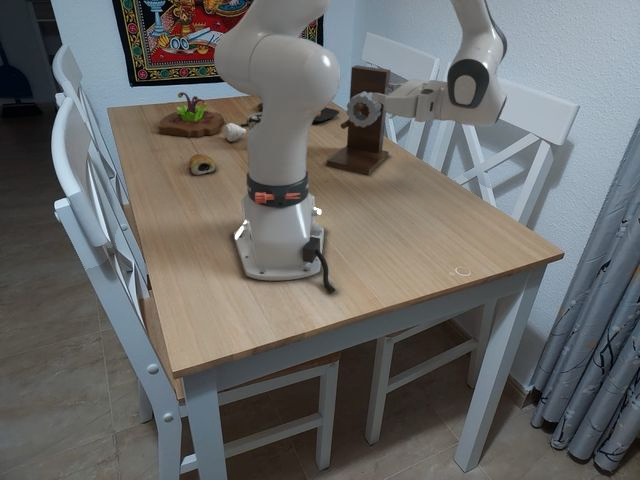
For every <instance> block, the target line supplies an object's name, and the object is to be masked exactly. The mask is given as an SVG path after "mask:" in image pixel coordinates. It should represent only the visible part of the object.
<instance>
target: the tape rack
mask: <svg viewBox="0 0 640 480" xmlns="http://www.w3.org/2000/svg"><path fill="white" fill-rule="evenodd" d="M390 78H391V69H387V68H379V67H371V66H365V65H359V64H358V65H354V66H352V67H351V71H350V87H349V88H350V90H349V100H350V99H351V98H352V97H354V96H356V95H357V94H360V93H362V92H364V91H365V92H367V93H370V92H371V93H375V92H379V93H381V94H384V95H386V94H387V95H389V92H386V91H385V88H386V85H387V84H388V83H390V81H391V79H390ZM379 103H380V102H379ZM380 104H381V109H380V111H381V114H380V116H378V117H377V120H376V121H375V122H373V123H372V124H371V125H367V126H366V127H361V126H355V125H354V122H351V121H350V120H349V118H348V119H346V120H345V121H344V122H342V123H341V124H340V128H341V129H342V130H345V129H347V139H346V146H344V147H343V148H342V149H341V150H340V149H339V151H338V152H336V153H335V154H334V155H332V156H331V157H330V158H328V159H327V160H326V166H328V167H332V168H336V169H341V170H345V171H349V172H353V173H357V174H361V175H365V176H370V174H372V173H373V172H374V170H376V169H377V168H378V167H379V166H380V165H381V164H382V163H383V162H384V161H385V160H386V159H387V158H388V157H389V151H388V150H383V147H384V136H385V127H386V117H387V112H385V111H384V104H382V103H380ZM355 110H356V111H360V112H361V114H362V115H365V116H368V115H369V113H370V112H369V108H368V107H367V105H366V104H363V103H362V102H361V103H359V104H357V105H356V106H355Z"/></svg>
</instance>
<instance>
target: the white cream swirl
mask: <svg viewBox="0 0 640 480" xmlns="http://www.w3.org/2000/svg"><path fill="white" fill-rule="evenodd" d="M224 134H225V137H226V139H227V141H228V142H230V143H231V142H235V141H237V140H239V139H240V138H241V137H242V136H243V135H245V134H247V129H245V128H243V127H242V126H241V125H238V124H236V123H232V122H229V123H227V124H226V125H224Z"/></svg>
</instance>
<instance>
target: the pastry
mask: <svg viewBox="0 0 640 480" xmlns="http://www.w3.org/2000/svg"><path fill="white" fill-rule="evenodd" d="M188 165H189V167H190V172H191V173H192V174H193V175H195V176H202V175H204V174H209V173H210V174H211V173H212V172H215V170H216V168H217V164H216V161H215V160H214V159H213V158H212V157H211V156H209V155H207V154H198V153H197V154H194V155H193V156H191V157H190V159H189V162H188Z"/></svg>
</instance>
